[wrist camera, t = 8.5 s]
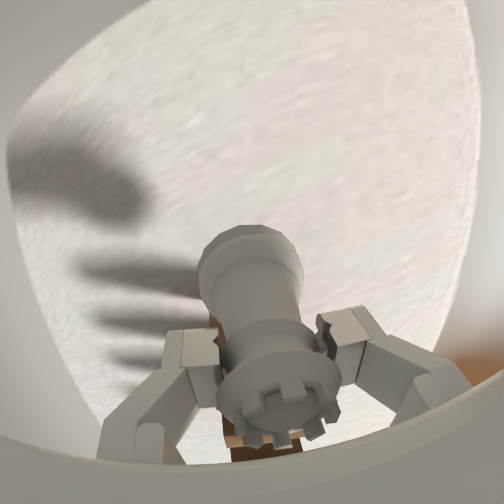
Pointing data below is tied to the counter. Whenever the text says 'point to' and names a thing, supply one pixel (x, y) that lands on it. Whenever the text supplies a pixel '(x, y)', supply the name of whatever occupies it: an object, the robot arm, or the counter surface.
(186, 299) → the counter surface
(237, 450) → the domino
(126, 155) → the counter surface
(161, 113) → the counter surface
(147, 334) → the counter surface
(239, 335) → the rook chess piece
